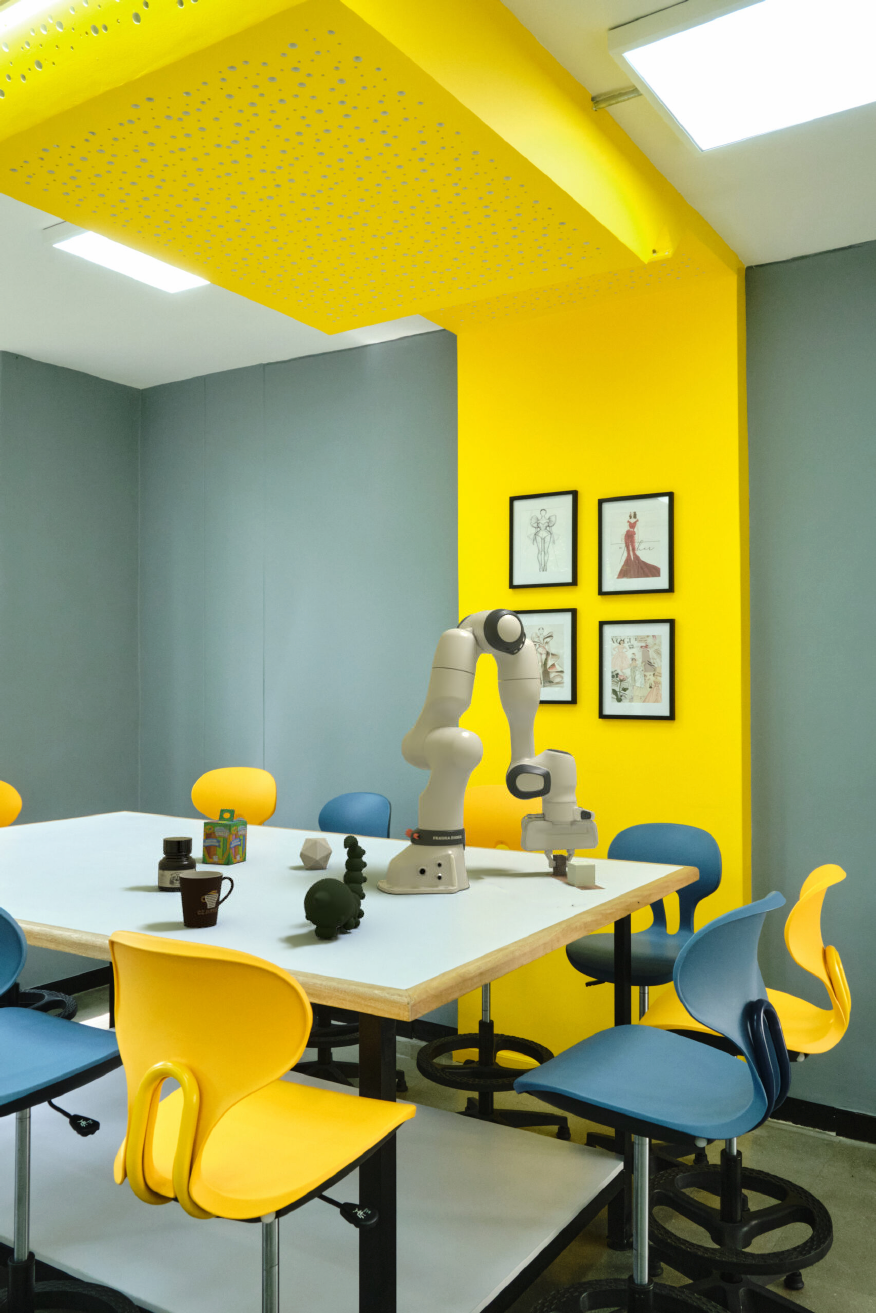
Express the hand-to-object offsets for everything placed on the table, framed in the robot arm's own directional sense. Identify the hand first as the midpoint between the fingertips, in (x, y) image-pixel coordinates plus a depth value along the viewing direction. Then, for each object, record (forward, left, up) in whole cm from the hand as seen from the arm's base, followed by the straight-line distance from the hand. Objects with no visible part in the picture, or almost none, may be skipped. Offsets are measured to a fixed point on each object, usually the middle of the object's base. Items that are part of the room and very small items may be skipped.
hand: (559, 867), depth 248 cm
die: (-57, +34, -3) cm, 66 cm away
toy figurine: (-65, -41, -3) cm, 77 cm away
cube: (0, -13, -2) cm, 13 cm away
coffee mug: (-89, -28, -3) cm, 93 cm away
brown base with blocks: (0, -9, -3) cm, 10 cm away
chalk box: (-80, +51, -3) cm, 95 cm away
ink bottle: (-94, +13, -3) cm, 95 cm away
